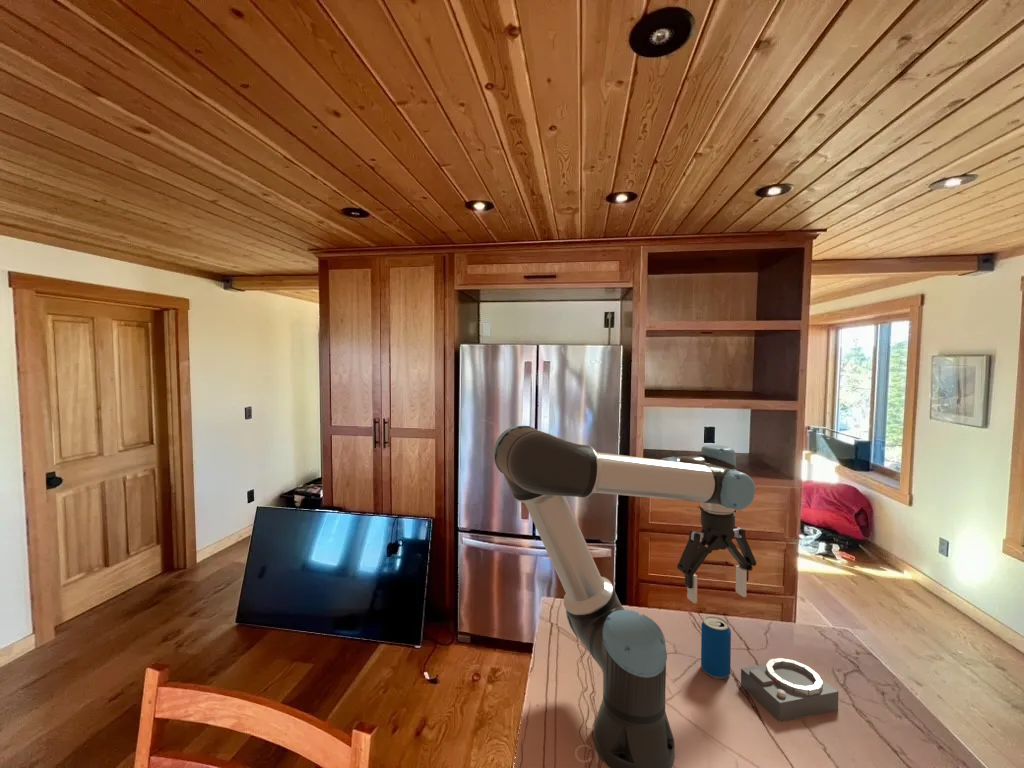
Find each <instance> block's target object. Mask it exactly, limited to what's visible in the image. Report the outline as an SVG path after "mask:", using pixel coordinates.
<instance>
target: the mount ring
mask: <svg viewBox="0 0 1024 768" xmlns="http://www.w3.org/2000/svg"><path fill="white" fill-rule="evenodd" d="M793 660H794V659H790V658H789V659H788V658H782V657H778V658H770V659H769V660H768V661H767V663H765V664H766V672H767V674H768V677H769V678H770V679H771V680H772V681H774V682H775V683H776V684H777V685H778V686H780V687H782V688H784V689H786V690H788V691H790V692H792V693H796V694H801V695H806V696H808V695H809V696H812V695H817V694H820V692H821V690H822V688H823V681H822V680H823V679H822V678H821V676H820V674H818V672H816V671H815V670H814V669H812V668H811V667H810V666H808V665H806V664H804V663H801V662H799V661H798V660H796V661H793ZM797 661H798V662H797ZM782 666H784V667H790V668H794V669H796V670H799V671H801V672H804V673H805V674H806V675H808V676H809V677H810V678H812V679H813V681H814V685H809V686H801V685H796V684H792V683H790V682H788V681H786V680H783V679H782V678H781V677H779V676H778V675H777V674H776V673H775V672H774V668H776V667H782ZM821 679H822V680H821Z"/></svg>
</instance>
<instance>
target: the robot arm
mask: <svg viewBox="0 0 1024 768" xmlns="http://www.w3.org/2000/svg"><path fill="white" fill-rule="evenodd" d="M736 459H737V457H736V452H735V449H734V448H732V447H730V446H727V445H719V444H707V445H704V446H702V447H701V451H700V454H699V455H687V456H686V455H685V456H684V455H683V456H674V455H673V456H670V457H663V458H660V459H656V458H648V457H647V458H646V457H640V456H630V455H624V454H616V453H606V452H599V451H596V450H595V449H594V447H593V446H591V445H586V444H579V443H576V442H575V443H574V442H572V441H569V440H566V439H564V438H563V439H562V438H560V437H557V436H555V435H553V434H550V433H548V432H544V431H541V430H538V429H537V428H534V427H533V426H530V425H516V426H511V427H509V428H507V429H506V430H504V431H503V432H501V434H500V435H499V436H498V438H497V439H496V441H495V444H494V447H493V460H494V464H495V466H496V468H497V470H498V471H499V472H500V473H501V474H502V475H503V477H504V478H505V480H506V482H507V485H508V487H509V489H510V492H511V493H512V495H513V497H514V498H513V499H515V501H517V502H519V503H523V504H524V505H525V506H526V509H527V511H528V514H529V516H530V518H531V520H532V522H533V524H534V526H535V529H536V530H537V533H538V535H539V538H540V540H541V542H542V543H543V546H544V548H545V551H546V553H547V555H548V557H549V559H550V562H551V564H552V566H553V568H554V570H555V573H556V575H557V576H558V579H559V581H560V583H561V586H562V587H563V590H564V592H565V594H564V596H563V601H562V602H563V606H564V608H565V613H566V614H565V615H566V618H567V622H568V624H569V627H570V629H571V631H572V632H573V634H574V635H575V636H576V637H577V639H578V640H579V641H580V642H581V643H582V644H583V647H585V649H586V650H587V651H588V653H589V654H590V656H591V657H592V658H593V659H594V661H595V662H596V664H597V665H598V667H599V668H600V669H601V672H602V677H603V678H602V690H603V691H602V701H601V703H600V706H599V709H598V712H597V715H596V717H595V720H594V722H593V723H594V724H593V743H594V747H595V750H596V752H597V753H598V755H599V757H600V758H601V759H602V761H603V762H604V763H605V764H606V765H608V766H609V767H610V768H672V766H673V765H674V762H675V758H676V757H675V754H676V753H675V751H676V750H675V749H676V746H675V745H676V744H675V738H674V734H673V732H672V728H671V725H670V722H669V719H668V715H667V713H666V680H667V679H666V678H667V676H666V675H667V659H668V654H667V648H666V646H667V645H666V639H665V635H664V633H663V630H662V629H661V627H660V626H659V624H657V623H656V622H655V620H653V619H652V618H650V617H648V615H645V614H640V613H639V611H635V610H632V609H630V610H629V609H625V608H624V606H623V605H622V603H621V602H620V600H619V597H618V595H617V592H616V590H615V588H614V586H613V584H612V581H611V580H610V579H608V578H607V577H605V576H601V573H600V571H599V569H598V567H597V564H596V562H595V560H594V557H593V555H592V553H591V550H590V548H589V546H588V543H587V541H586V539H585V538H584V534H583V533H582V531H581V530H582V529H581V528H580V526H579V524H578V521H577V519H576V517H575V515H574V512H573V510H572V508H571V505H570V503H569V501H568V499H567V497H573V498H574V497H577V498H589V497H590V496H591V495H592V494H594V493H595V494H605V495H619V496H628V497H639V498H640V497H642V498H652V499H664V500H672V501H673V500H674V501H684V502H695V503H696V502H697V503H700V507H701V508H702V509H700V525H701V530H700V531H699V532H698V531H695V530H690V531H689V532H688V533H689V535H688V541H687V543H686V545H685V547H684V549H683V552H682V554H681V556H680V559H679V561H678V562H677V563H678V564H677V566H676V569H677V570H679V571H680V572H681V573H683V574H684V585H685V587H686V589H687V591H686V596H687V597H686V598H687V599H688V600H689V601H691V602H692V603H693V604H698V575H697V574H696V573H697V571H698V569H699V568H700V567H701V565H702V564H703V562H704V561H705V559H706V558H707V556H708V555H709V554H712V552H713V551H714V552H715V551H719V550H722V551H723V550H727V551H728V552H729V554H730V555H731V556H732V557H733V559H734V560H735V561H736V562H737V564H738V565H735V593H737V594H738V595H740V596H741V597H743V598H746V597H747V582H749V577H750V576H749V574H750V572H749V571H753V567H755V566H757V560H756V558H755V556H754V554H753V552H752V549H751V547H750V545H749V542H748V540H747V538H746V537H747V535H746V530H745V529H743V528H741V527H738V526H737V525H736V514H735V511H741V510H745V509H747V508H748V507H749V506H750V505H751V504H752V503H753V501H754V499H755V495H756V494H755V493H756V485H755V482H754V480H753V479H752V478H751V476H750V475H748V474H746V473H745V472H743V471H742V472H741V471H738V470H737V460H736ZM734 538H735V540H736V543H737V546H738V548H739V549H738V548H737V546H736V544H735V543H734V542H733V539H734ZM739 550H740V551H739Z"/></svg>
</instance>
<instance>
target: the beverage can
mask: <svg viewBox="0 0 1024 768" xmlns="http://www.w3.org/2000/svg"><path fill="white" fill-rule="evenodd" d="M700 631H701V633H700V634H701V635H700V637H701V643H700V645H701V646H700V667H701V669H702V670H703V671H704V672H705V673H706V674H707V675H708V676H710V677H712V678H714V679H720V680H721V679H725V678H727V677H729V676H730V675H731V666H732V665H731V656H732V653H731V651H732V650H731V649H732V647H731V646H732V644H731V643H732V642H731V641H732V639H731V638H732V630H731V628H730V625H729V622H727V620H725V619H723V618H721V617H719V616H706V617H704V618H703V621H702V623H701V630H700Z"/></svg>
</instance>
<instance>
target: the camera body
mask: <svg viewBox="0 0 1024 768" xmlns="http://www.w3.org/2000/svg"><path fill="white" fill-rule="evenodd" d="M792 660H793V661H797V662H799V661H798V660H797V659H792ZM766 664H767V663H765V664H759V665H754V666H747V667H743V668H740V686H741V687H742V688H743V689H744V690H745V691H746V692H747V693H748V694H750V695H751V696H752V697H753V698H754V699H755V700H756V701H757V702H758V703H759V704H760V705H761V706H762V707H763V708H764V709H766V710H767V711H768V712H769V713H770V714H771V715H772V716H773V717H774V718H775V719H776V720H777V721H778V722H780V723H781V722H787V721H791V720H795V719H801V718H805V717H810V716H815V715H819V714H825V713H830V712H833V711H838V710H839V691H838V690H837V689H835V688H834V687H833V686H832V685H830V684H829V683H828V682H826V681H825V680H823V679H822V678H821V680H822V681H823V688H822V690H821V692H820V694H817V695H812V696H809V695H808V696H806V695H801V694H796V693H792V692H790V691H788V690H786V689H784V688H782V687H780V686H778V685H777V684H776V683H775V682H774V681H772V680H771V679H770V678H769V677H768V674H767V672H766ZM774 672H775V673H776V674H777V675H778V676H779V677H781V678H782V679H783V680H786V681H788V682H790V683H792V684H796V685H801V686H809V685H814V681H813V679H812V678H810V677H809V676H808V675H806V674H805V673H804V672H801V671H799V670H796V669H794V668H790V667H784V666H782V667H776V668H774Z"/></svg>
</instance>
